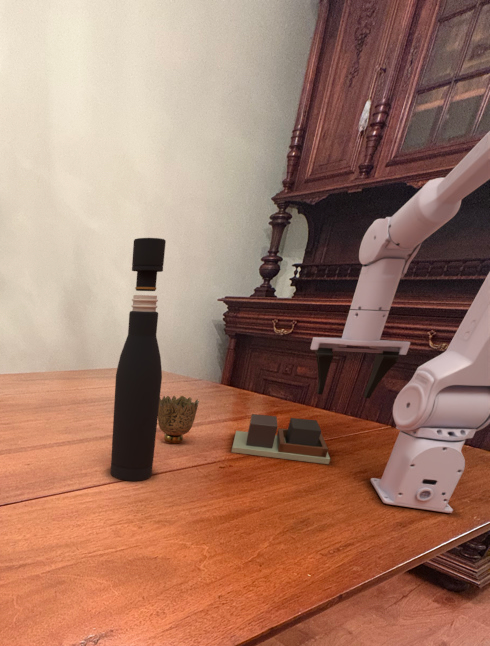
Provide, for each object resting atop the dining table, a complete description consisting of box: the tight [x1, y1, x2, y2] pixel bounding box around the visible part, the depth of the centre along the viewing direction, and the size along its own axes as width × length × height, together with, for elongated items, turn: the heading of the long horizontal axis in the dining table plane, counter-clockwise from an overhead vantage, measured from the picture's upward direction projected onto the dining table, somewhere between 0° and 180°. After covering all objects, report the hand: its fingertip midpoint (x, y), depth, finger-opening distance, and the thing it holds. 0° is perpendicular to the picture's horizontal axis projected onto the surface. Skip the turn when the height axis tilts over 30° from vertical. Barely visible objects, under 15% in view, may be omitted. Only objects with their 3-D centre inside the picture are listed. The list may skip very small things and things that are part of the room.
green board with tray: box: [231, 413, 331, 465], centre depth 78 cm, size 12×16×5 cm
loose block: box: [285, 417, 322, 447], centre depth 77 cm, size 8×4×4 cm, turn 160°
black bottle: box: [110, 237, 167, 482], centre depth 59 cm, size 6×6×30 cm
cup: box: [157, 395, 200, 445], centre depth 80 cm, size 8×7×8 cm
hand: (342, 395), depth 77 cm, fingers open, 7 cm apart
